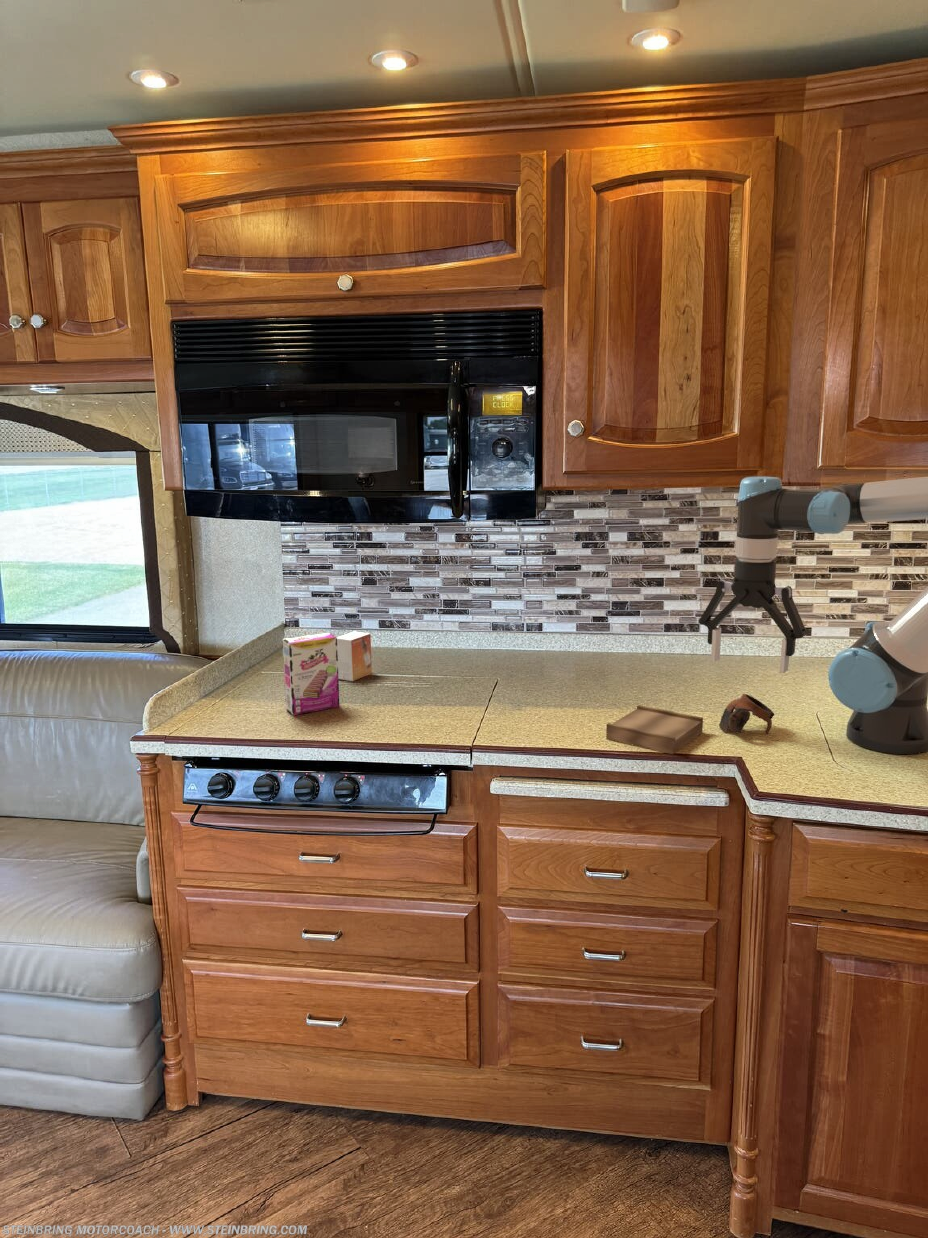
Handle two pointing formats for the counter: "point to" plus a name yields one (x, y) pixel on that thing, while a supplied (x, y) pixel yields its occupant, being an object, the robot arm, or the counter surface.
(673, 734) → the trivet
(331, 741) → the counter surface
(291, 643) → the candy bar box
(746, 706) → the brown hollow arched piece
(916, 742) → the robot arm
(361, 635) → the small box
